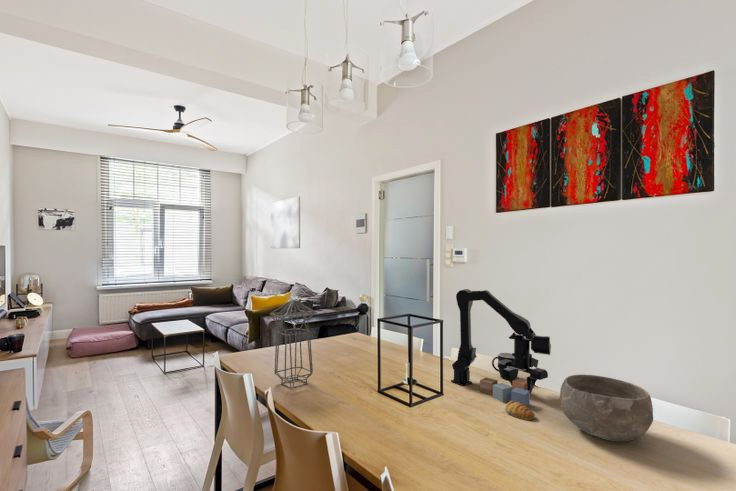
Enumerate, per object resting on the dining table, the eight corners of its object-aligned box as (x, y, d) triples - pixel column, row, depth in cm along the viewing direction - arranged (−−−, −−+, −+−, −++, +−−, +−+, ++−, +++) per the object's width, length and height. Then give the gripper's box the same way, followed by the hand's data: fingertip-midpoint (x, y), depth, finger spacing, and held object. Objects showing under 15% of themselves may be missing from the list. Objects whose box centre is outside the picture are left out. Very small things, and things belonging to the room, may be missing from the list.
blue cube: (525, 408, 136) (525, 394, 136) (511, 404, 139) (511, 391, 139) (529, 404, 139) (529, 390, 140) (515, 401, 143) (515, 387, 143)
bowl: (658, 464, 100) (658, 407, 100) (556, 439, 113) (556, 389, 113) (649, 429, 120) (649, 381, 121) (563, 411, 133) (563, 368, 134)
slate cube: (502, 402, 141) (502, 389, 141) (492, 397, 145) (492, 384, 145) (512, 400, 143) (512, 387, 143) (502, 395, 148) (502, 382, 148)
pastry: (539, 418, 128) (539, 407, 128) (527, 423, 124) (527, 411, 124) (514, 408, 136) (514, 398, 136) (502, 413, 132) (502, 402, 132)
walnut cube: (491, 396, 147) (491, 383, 147) (479, 392, 151) (479, 380, 151) (497, 393, 151) (497, 380, 151) (485, 389, 154) (486, 377, 154)
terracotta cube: (523, 397, 146) (523, 384, 146) (512, 393, 150) (512, 380, 150) (531, 394, 149) (531, 382, 149) (519, 390, 153) (519, 378, 153)
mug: (522, 377, 169) (522, 355, 170) (515, 382, 162) (515, 359, 163) (495, 372, 177) (495, 350, 177) (488, 376, 170) (488, 354, 170)
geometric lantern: (286, 393, 147) (285, 303, 148) (268, 383, 159) (267, 300, 160) (320, 384, 157) (319, 299, 158) (300, 375, 169) (299, 297, 170)
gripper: (555, 353, 147) (555, 393, 147) (513, 343, 162) (513, 380, 162) (539, 357, 141) (539, 400, 140) (496, 347, 156) (496, 385, 156)
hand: (521, 390), depth 150 cm, fingers open, 7 cm apart
